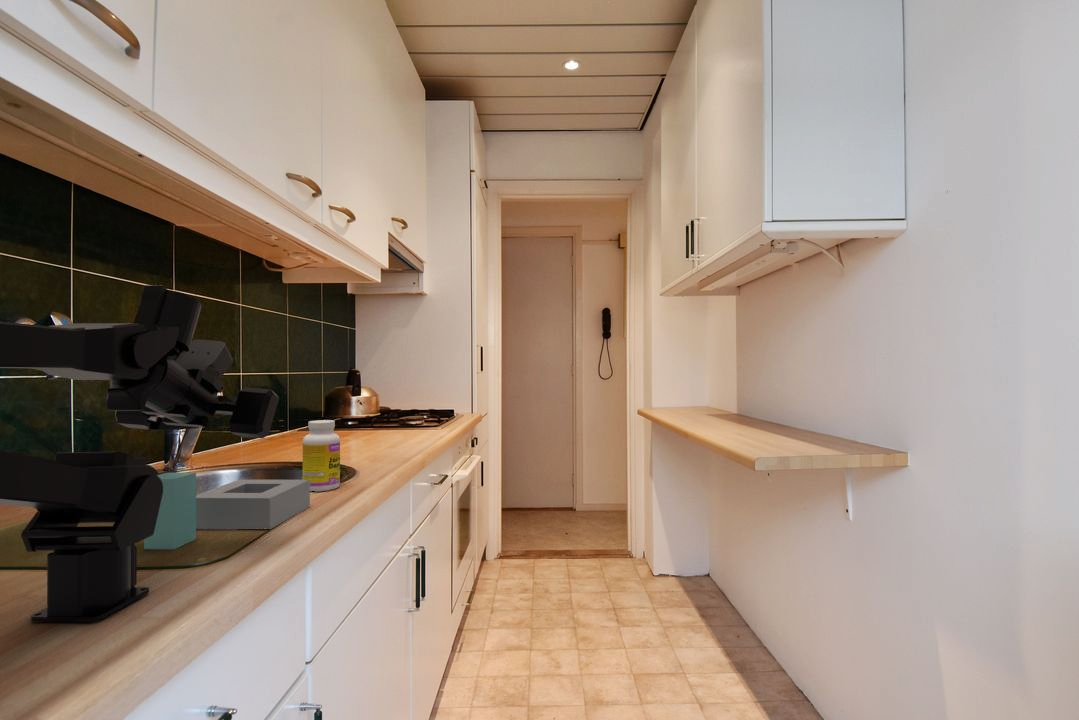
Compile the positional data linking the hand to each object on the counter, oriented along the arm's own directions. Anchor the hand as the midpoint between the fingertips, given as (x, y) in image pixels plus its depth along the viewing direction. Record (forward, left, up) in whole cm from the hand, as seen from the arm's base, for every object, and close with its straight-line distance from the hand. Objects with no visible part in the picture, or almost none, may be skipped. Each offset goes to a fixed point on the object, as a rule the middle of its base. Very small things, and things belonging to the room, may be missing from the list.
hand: (230, 427), depth 76 cm
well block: (+5, 0, -15) cm, 16 cm away
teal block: (-7, +4, -15) cm, 16 cm away
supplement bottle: (+24, -2, -15) cm, 29 cm away
